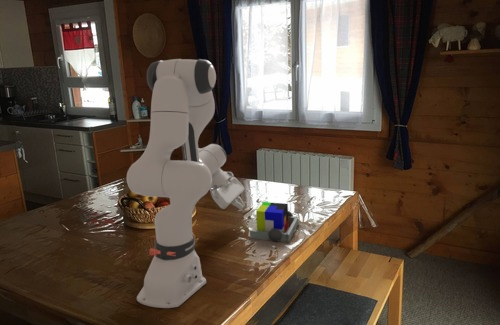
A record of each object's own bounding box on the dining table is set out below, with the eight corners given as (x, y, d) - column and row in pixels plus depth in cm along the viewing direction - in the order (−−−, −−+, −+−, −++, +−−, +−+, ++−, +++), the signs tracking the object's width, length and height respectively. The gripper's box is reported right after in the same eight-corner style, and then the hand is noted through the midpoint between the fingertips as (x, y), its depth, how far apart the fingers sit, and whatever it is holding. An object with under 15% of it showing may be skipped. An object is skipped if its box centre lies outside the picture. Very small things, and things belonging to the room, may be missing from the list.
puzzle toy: (282, 237, 162) (281, 213, 159) (257, 235, 165) (256, 211, 162) (288, 227, 171) (287, 203, 169) (264, 224, 174) (263, 202, 172)
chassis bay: (288, 243, 157) (288, 230, 156) (249, 239, 161) (248, 227, 160) (299, 222, 175) (298, 211, 173) (263, 219, 179) (263, 208, 178)
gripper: (213, 185, 159) (239, 211, 159) (232, 170, 178) (255, 194, 177) (203, 195, 162) (228, 221, 161) (223, 180, 180) (245, 203, 180)
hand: (242, 207), depth 169 cm, fingers closed
